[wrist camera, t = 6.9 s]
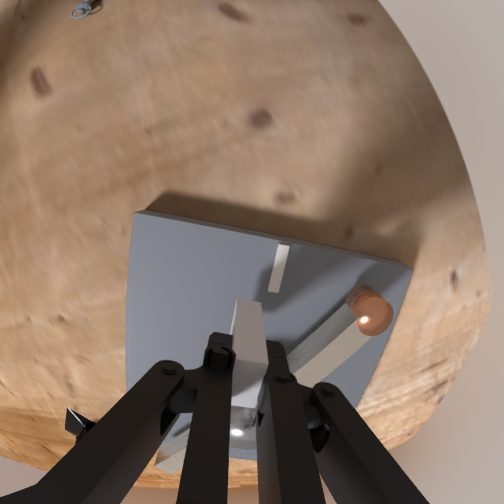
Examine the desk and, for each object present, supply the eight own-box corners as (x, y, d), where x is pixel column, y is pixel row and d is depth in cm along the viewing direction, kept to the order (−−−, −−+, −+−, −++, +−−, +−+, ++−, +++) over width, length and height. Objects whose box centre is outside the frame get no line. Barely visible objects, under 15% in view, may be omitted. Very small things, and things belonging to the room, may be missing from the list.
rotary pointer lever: (139, 426, 22) (125, 463, 18) (338, 251, 19) (366, 273, 14) (197, 461, 23) (192, 497, 19) (395, 314, 20) (426, 346, 15)
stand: (135, 423, 25) (129, 437, 23) (144, 209, 20) (132, 212, 18) (319, 449, 26) (322, 464, 24) (400, 262, 21) (414, 270, 19)
